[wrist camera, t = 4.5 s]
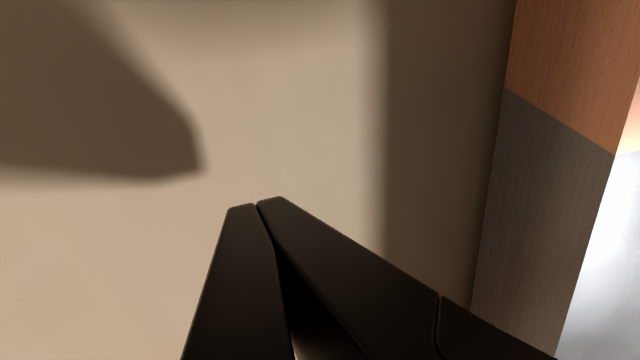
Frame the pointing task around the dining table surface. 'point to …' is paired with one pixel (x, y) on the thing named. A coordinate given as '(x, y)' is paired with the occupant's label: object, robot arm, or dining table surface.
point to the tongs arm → (567, 184)
